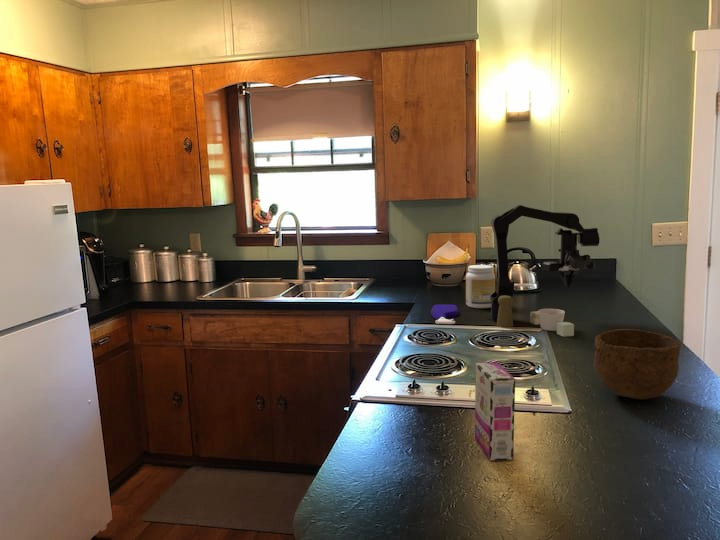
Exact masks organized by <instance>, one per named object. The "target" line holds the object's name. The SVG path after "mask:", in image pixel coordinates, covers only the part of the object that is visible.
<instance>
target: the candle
mask: <svg viewBox="0 0 720 540" xmlns="http://www.w3.org/2000/svg"><path fill="white" fill-rule="evenodd" d="M537 311H538V313H539V319H540V324H539V325H540V329H542V330H543V331H550V332H551V331H552V332H557V323H560V322H564V318H565V313H566V312H565V310H562V309H557V308H541V309H538V310H537Z"/></svg>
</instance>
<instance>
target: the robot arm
mask: <svg viewBox="0 0 720 540" xmlns="http://www.w3.org/2000/svg"><path fill="white" fill-rule="evenodd" d="M521 217H526V218H529V219H530V218H531V219H535V220H541V221H545V222H550V223H553V224H555V225H557V226H560V228H559V229H558V230H557V231H556V232H555V233H554V234H555V235H557V236H560V248H558V252H559V253H560V255H559V256H560V258H559V259H558V260H557V261H558V262H556V261H544V262H542V264H541V266H542V267H541V270H542V271H543V270H544V271H546V272H547V271H548V272H558V274H559V276H560V277H561V279H562V282H563V284H564V286H565V288H566V289H570V287H571V285H572V282H573V279H574V278H575V276H576V275H577V274H578V273H579V272H581V269H583V270H585V269H587V270H591V269H595V262H594V261H593V260H591V255H590V254H584V255H581V254H580V249H578V245H579V244H580V246H581V247H599V245H600V239H601V238H600V235H599V232H598V231H599V230H598V227H591V228H590V227H589V228H584V227H583V225H582V224H581V222H580V217H579V216H578V215H577V213H572V212H566V211H564V212H561V211H560V212H559V211H558V212H557V211H556V212H555V211H554V212H553V211H548V210H543V209H537V208H534V207H529V206H524V205H523V204H517V205H515V206H514V207H513V208H511V209H509V210H507V211H506V212H504V213H502V214H498V215H497V214H496V215H495V216H493V217H492V218H491V220H490V224H491V228H492V232H493V235H494V239H495V249H496V263H497V265H496V266H497V278H496V282H495V292H494V293H493V294H492V295H491V296H490V299H491V301H492V302H491V307H490V312H491V313H490V316H487V319H489V320H491V321H493V322H497V319H498V312H499V303H498V298H499V297H500V296H504V295H506V296H511V297H512V298H513V297H514V293H516V291H515V281H514V280H513V279H512V278H511V279H510V276H509V275H510V274H509V272H510V271H509V257H508V242H507V241H508V235H509V229H510V225H511V224H512V223H514V222H516V220H518V219H519V218H521ZM561 227H563V228H566V229H563V228H561ZM572 230H573V231H576V232H573V231H572Z"/></svg>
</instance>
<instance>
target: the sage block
mask: <svg viewBox="0 0 720 540" xmlns="http://www.w3.org/2000/svg"><path fill="white" fill-rule="evenodd" d="M556 334H557V335H559V336H561V337H574V336H575V324H574V323H572V322H568V321H563V322H560V323H557V331H556Z"/></svg>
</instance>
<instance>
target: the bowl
mask: <svg viewBox="0 0 720 540" xmlns="http://www.w3.org/2000/svg"><path fill="white" fill-rule="evenodd" d="M681 347H682V344H681V343H680V342H678V341H677V340H675V339H674V338H672V337H671V336H669V335H665V334H662V333H657V332H652V331H647V330H643V329H636V328H635V329H633V328H632V329H631V328H620V329H619V328H617V329H612V330H607V331H604V332H602V333H600V334H597V335H596V336H595V338H594V361H593V368H594V371H595V373H596V374H597V377H598V378H599V379H600V381H601V383H603V384H604V385H603V386H605V387H606V388H607V390H609V391H610V392H612V393H613V394H616V395H617V396H619V397H625V398H630V399H634V400H640V401H641V400H649V399H652V398H653V399H654V398H657V397H659V396H661V395H662V394H663V395H664V393H666V391H668V390H669V389H670V388H671V387H672V385H673V384H674V382H675V380H676V379H677V377H678V372H679V358H680V356H679V355H680V351H681Z"/></svg>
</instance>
